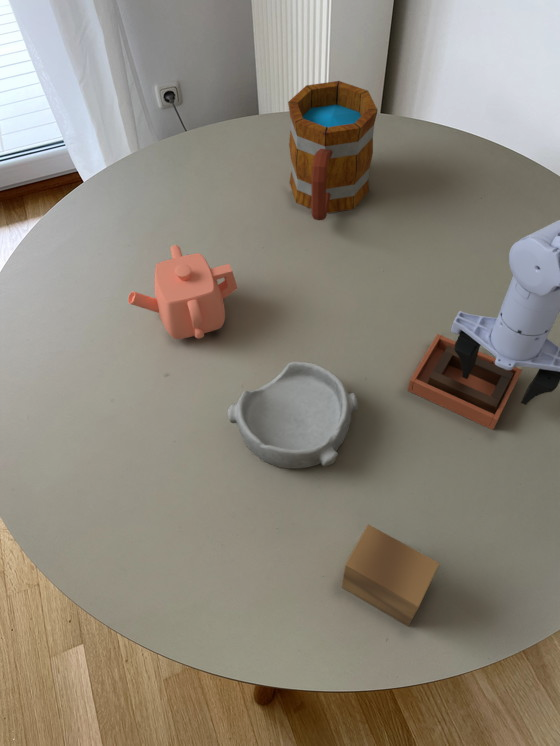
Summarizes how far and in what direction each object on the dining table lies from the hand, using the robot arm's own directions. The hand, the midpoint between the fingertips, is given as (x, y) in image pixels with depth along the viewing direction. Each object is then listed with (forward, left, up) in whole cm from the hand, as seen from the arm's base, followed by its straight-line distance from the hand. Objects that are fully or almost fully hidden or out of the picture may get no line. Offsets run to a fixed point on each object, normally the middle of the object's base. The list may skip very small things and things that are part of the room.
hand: (496, 385), depth 82 cm
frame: (+3, 0, -2) cm, 4 cm away
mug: (+38, -24, -3) cm, 44 cm away
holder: (+4, 0, -3) cm, 5 cm away
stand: (+1, +29, -3) cm, 29 cm away
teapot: (+43, +8, -3) cm, 43 cm away
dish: (+20, +16, -3) cm, 26 cm away
